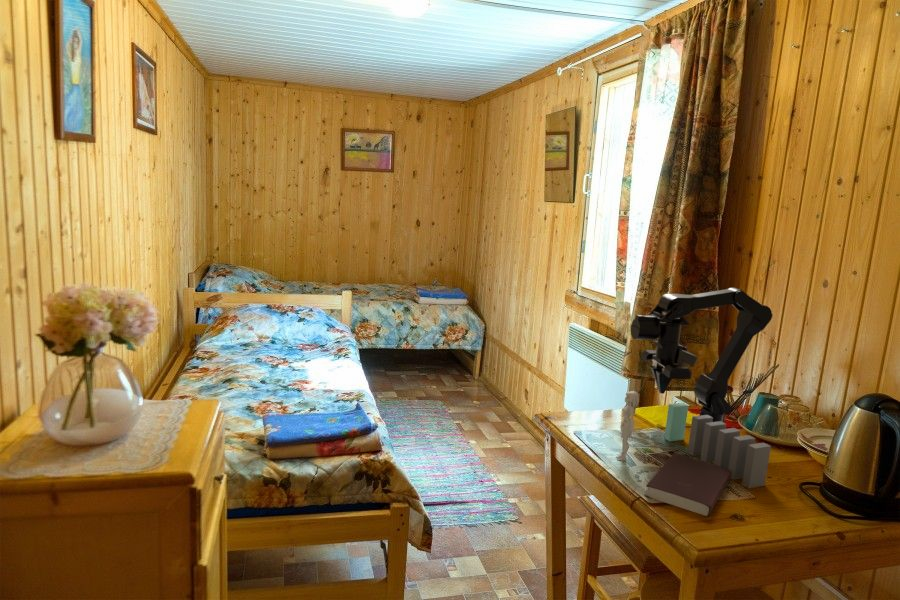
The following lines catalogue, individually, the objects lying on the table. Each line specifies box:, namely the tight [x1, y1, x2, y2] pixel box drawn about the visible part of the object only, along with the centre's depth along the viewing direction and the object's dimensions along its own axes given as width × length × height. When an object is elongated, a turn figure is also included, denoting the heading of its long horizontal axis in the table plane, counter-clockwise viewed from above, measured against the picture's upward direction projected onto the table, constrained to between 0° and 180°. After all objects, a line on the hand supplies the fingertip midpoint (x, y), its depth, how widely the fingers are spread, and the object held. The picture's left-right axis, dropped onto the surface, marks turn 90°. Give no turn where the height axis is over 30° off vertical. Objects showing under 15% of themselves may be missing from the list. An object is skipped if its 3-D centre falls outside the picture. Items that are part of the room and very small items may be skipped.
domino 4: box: [728, 434, 756, 480], centre depth 151 cm, size 5×2×10 cm, turn 112°
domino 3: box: [713, 427, 741, 469], centre depth 155 cm, size 5×2×10 cm, turn 112°
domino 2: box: [699, 421, 727, 463], centre depth 159 cm, size 5×2×10 cm, turn 112°
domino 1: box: [687, 415, 713, 456], centre depth 163 cm, size 5×2×10 cm, turn 112°
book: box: [643, 452, 731, 518], centre depth 144 cm, size 14×22×4 cm, turn 145°
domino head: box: [663, 402, 689, 442], centre depth 171 cm, size 5×2×10 cm, turn 112°
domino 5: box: [741, 442, 772, 489], centre depth 146 cm, size 5×2×10 cm, turn 112°
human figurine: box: [615, 390, 640, 462], centre depth 156 cm, size 12×4×18 cm, turn 175°
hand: (661, 393), depth 176 cm, fingers closed
